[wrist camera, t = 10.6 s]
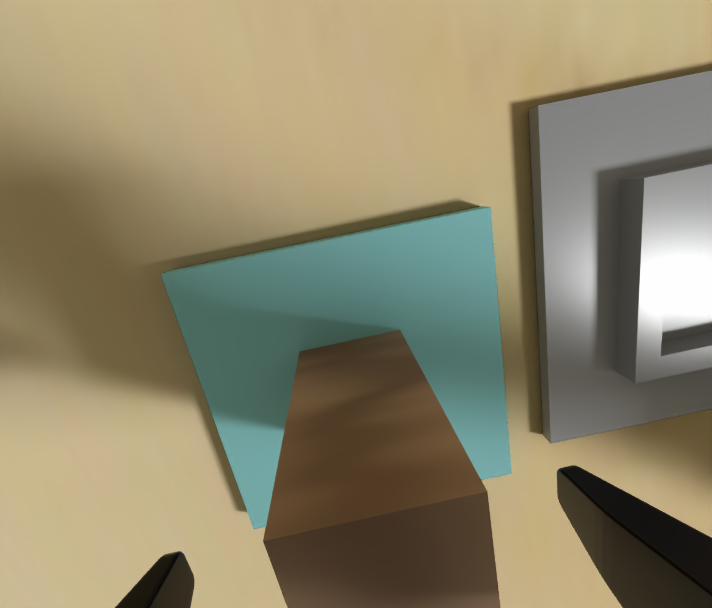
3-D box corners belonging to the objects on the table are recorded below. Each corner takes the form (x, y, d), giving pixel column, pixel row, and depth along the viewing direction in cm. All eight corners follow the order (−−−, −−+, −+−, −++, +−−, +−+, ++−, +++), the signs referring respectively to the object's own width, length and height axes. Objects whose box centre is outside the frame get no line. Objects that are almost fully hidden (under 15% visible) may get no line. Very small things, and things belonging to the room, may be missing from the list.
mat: (481, 206, 14) (490, 206, 13) (503, 461, 17) (511, 473, 16) (170, 270, 13) (160, 274, 13) (257, 514, 17) (253, 529, 16)
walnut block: (400, 329, 14) (487, 491, 6) (415, 416, 15) (504, 641, 7) (299, 351, 14) (263, 541, 6) (322, 436, 15) (315, 684, 7)
